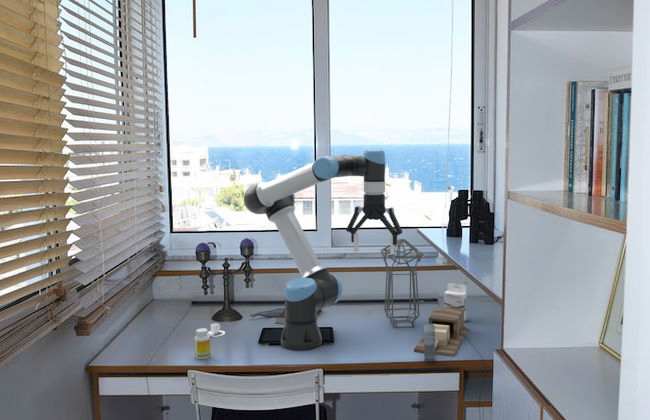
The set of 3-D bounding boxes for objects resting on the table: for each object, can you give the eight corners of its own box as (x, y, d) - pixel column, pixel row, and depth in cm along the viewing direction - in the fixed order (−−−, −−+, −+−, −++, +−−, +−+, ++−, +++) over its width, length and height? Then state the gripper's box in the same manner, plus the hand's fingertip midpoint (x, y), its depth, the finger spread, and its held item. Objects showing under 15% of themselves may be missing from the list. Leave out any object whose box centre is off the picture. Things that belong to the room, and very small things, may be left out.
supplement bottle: (191, 357, 210) (190, 330, 209) (204, 352, 214) (203, 326, 213) (200, 360, 207) (199, 333, 206) (213, 356, 211) (212, 329, 210)
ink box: (443, 320, 249) (443, 285, 247) (446, 317, 253) (446, 282, 252) (463, 322, 245) (463, 287, 243) (466, 319, 249) (467, 284, 248)
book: (322, 312, 266) (322, 304, 265) (307, 326, 245) (307, 318, 244) (292, 310, 269) (292, 302, 269) (274, 324, 249) (274, 315, 248)
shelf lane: (454, 356, 207) (454, 333, 206) (413, 351, 212) (413, 329, 211) (468, 329, 236) (468, 309, 236) (432, 325, 242) (432, 306, 241)
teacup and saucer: (207, 339, 230) (206, 329, 230) (199, 334, 237) (199, 324, 237) (228, 335, 235) (228, 325, 235) (220, 330, 242) (220, 320, 241)
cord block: (437, 363, 201) (437, 328, 199) (419, 360, 203) (419, 326, 201) (449, 338, 221) (449, 307, 219) (433, 336, 223) (432, 305, 221)
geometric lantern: (384, 330, 236) (384, 242, 233) (380, 319, 252) (380, 236, 248) (425, 329, 237) (425, 241, 233) (418, 318, 252) (418, 235, 248)
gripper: (411, 193, 213) (410, 253, 215) (344, 191, 222) (344, 248, 225) (405, 195, 206) (405, 256, 208) (337, 193, 215) (337, 252, 218)
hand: (373, 252), depth 216 cm, fingers open, 13 cm apart
